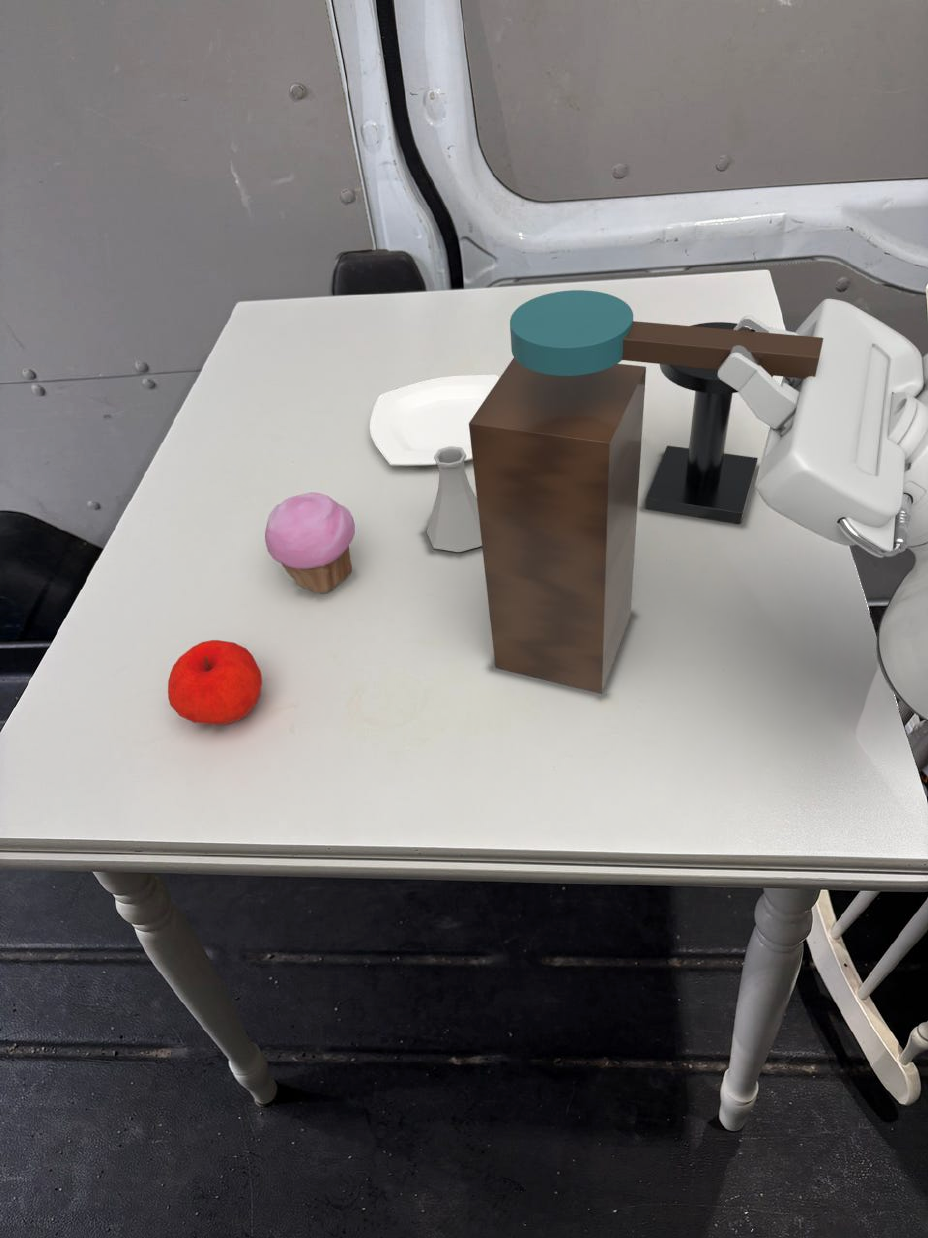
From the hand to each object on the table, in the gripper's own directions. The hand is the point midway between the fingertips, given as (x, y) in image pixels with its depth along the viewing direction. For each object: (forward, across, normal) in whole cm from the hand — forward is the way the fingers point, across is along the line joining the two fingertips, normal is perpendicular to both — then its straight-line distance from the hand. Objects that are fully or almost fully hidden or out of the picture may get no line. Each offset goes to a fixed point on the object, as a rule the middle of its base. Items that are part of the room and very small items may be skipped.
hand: (730, 342), depth 52 cm
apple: (+17, -16, -46) cm, 52 cm away
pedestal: (-6, 0, -33) cm, 33 cm away
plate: (+15, +30, -45) cm, 56 cm away
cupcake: (+17, +2, -46) cm, 49 cm away
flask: (+7, +12, -40) cm, 43 cm away
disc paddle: (+3, 0, -3) cm, 5 cm away
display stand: (-12, +26, -29) cm, 41 cm away
